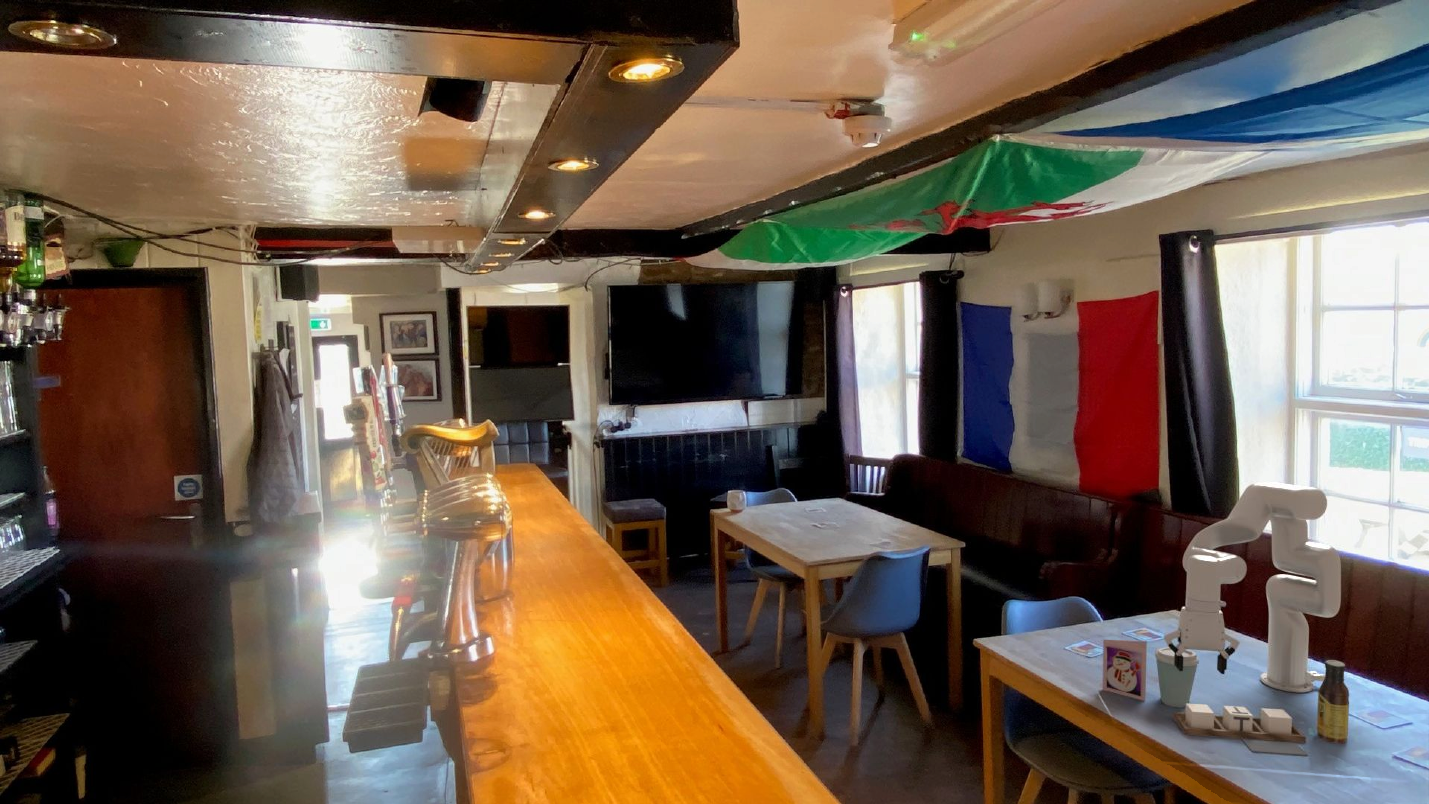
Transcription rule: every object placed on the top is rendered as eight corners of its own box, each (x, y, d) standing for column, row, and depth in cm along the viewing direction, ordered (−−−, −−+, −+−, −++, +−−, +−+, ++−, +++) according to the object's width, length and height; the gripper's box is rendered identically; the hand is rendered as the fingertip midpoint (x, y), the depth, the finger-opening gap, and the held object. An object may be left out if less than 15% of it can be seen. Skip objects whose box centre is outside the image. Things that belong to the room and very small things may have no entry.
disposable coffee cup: (1144, 699, 239) (1145, 646, 237) (1173, 693, 242) (1174, 641, 241) (1177, 715, 229) (1178, 660, 228) (1206, 708, 233) (1208, 654, 231)
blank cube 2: (1282, 728, 219) (1282, 709, 219) (1291, 737, 214) (1291, 718, 214) (1260, 727, 220) (1261, 708, 220) (1268, 736, 215) (1269, 716, 215)
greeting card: (1101, 692, 244) (1102, 640, 243) (1111, 684, 249) (1112, 633, 248) (1144, 703, 236) (1145, 650, 235) (1153, 695, 241) (1154, 643, 240)
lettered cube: (1244, 726, 221) (1244, 706, 220) (1252, 735, 216) (1252, 715, 215) (1222, 724, 222) (1223, 705, 221) (1230, 733, 217) (1230, 714, 216)
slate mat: (1296, 746, 211) (1296, 743, 211) (1307, 758, 205) (1307, 754, 205) (1242, 742, 213) (1242, 739, 213) (1252, 754, 207) (1252, 750, 207)
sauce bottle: (1317, 731, 218) (1320, 655, 217) (1348, 738, 214) (1351, 660, 213) (1315, 741, 213) (1318, 663, 212) (1346, 748, 209) (1349, 669, 208)
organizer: (1288, 727, 221) (1288, 719, 221) (1305, 744, 212) (1306, 736, 211) (1172, 719, 226) (1173, 711, 226) (1185, 736, 217) (1185, 728, 217)
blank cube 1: (1206, 723, 223) (1207, 704, 222) (1213, 732, 218) (1214, 713, 217) (1185, 722, 224) (1185, 703, 223) (1192, 730, 219) (1192, 711, 218)
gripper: (1234, 602, 220) (1231, 667, 221) (1161, 598, 223) (1158, 663, 225) (1246, 611, 213) (1243, 679, 214) (1170, 607, 216) (1167, 673, 217)
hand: (1199, 670), depth 219 cm, fingers open, 9 cm apart
